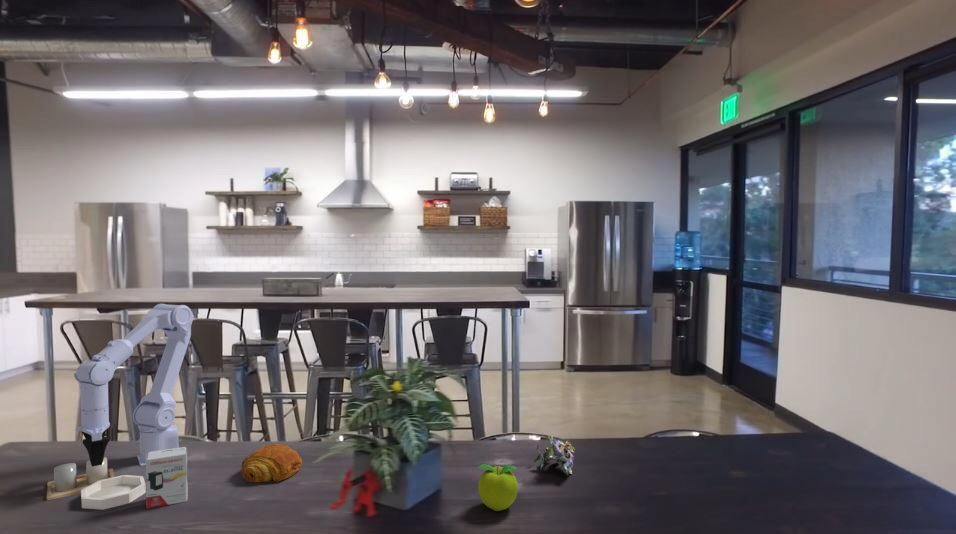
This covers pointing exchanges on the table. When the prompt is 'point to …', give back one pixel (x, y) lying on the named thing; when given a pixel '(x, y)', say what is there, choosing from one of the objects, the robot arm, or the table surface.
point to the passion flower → (558, 454)
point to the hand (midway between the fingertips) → (96, 460)
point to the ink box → (166, 477)
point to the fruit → (497, 487)
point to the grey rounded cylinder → (96, 472)
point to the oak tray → (80, 485)
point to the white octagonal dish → (112, 492)
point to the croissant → (271, 464)
